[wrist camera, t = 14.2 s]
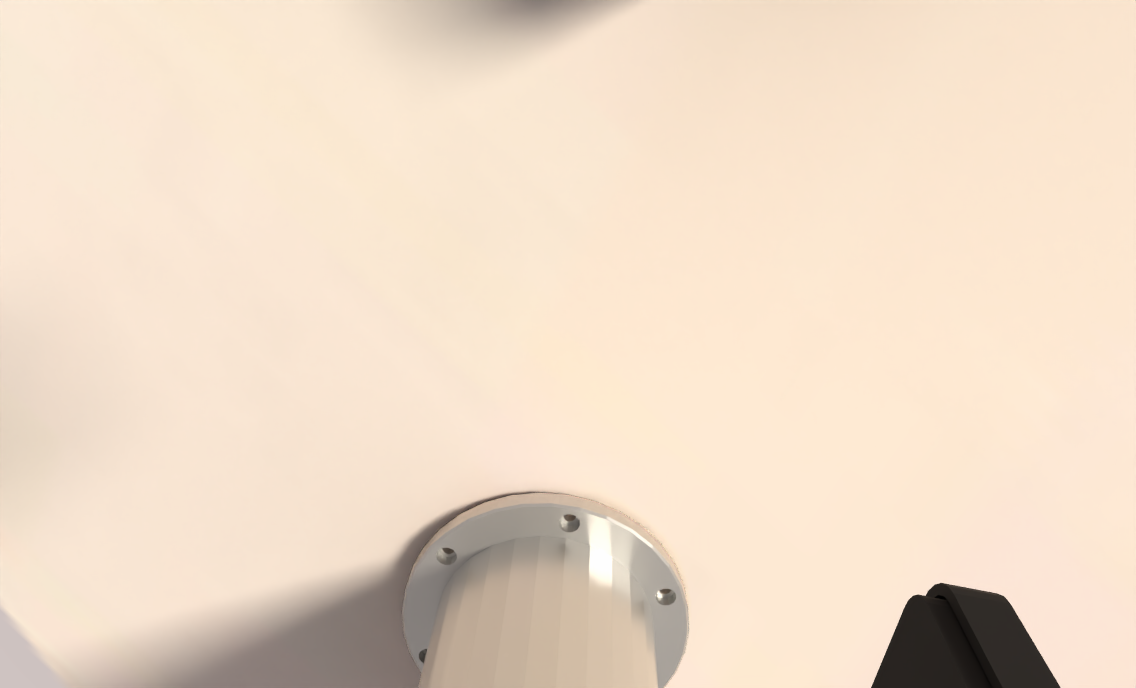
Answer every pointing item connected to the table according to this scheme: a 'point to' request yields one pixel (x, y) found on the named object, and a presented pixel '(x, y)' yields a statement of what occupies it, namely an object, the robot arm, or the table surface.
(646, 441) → the table surface
